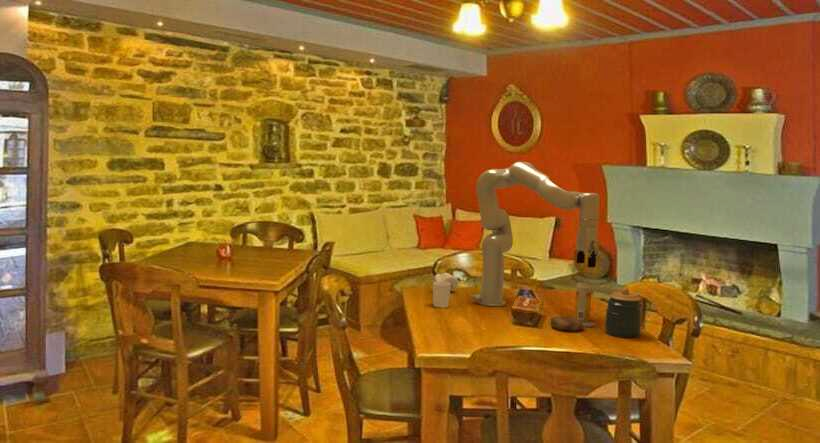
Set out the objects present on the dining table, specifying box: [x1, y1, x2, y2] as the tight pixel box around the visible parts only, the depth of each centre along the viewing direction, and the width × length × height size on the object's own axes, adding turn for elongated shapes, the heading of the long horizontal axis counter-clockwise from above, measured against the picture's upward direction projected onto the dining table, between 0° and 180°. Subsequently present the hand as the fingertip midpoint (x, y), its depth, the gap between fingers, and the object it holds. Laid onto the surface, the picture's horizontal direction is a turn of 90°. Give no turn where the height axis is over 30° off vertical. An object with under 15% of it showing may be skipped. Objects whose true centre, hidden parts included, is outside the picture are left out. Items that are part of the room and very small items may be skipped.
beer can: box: [573, 281, 593, 322], centre depth 246 cm, size 6×6×15 cm
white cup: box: [432, 281, 451, 309], centre depth 261 cm, size 8×8×10 cm
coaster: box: [582, 321, 596, 328], centre depth 239 cm, size 7×7×1 cm
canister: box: [604, 287, 644, 339], centre depth 228 cm, size 13×13×18 cm
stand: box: [550, 315, 584, 333], centre depth 233 cm, size 12×12×3 cm
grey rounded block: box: [434, 272, 459, 292], centre depth 289 cm, size 11×12×9 cm
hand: (585, 265), depth 246 cm, fingers open, 9 cm apart
